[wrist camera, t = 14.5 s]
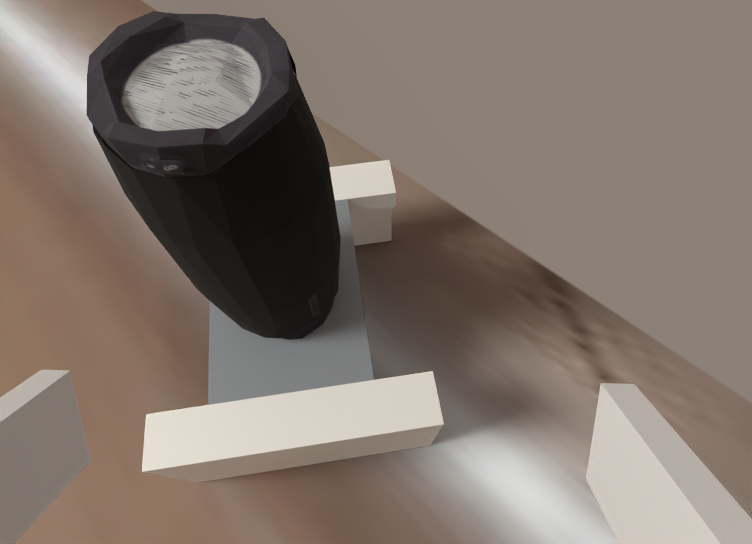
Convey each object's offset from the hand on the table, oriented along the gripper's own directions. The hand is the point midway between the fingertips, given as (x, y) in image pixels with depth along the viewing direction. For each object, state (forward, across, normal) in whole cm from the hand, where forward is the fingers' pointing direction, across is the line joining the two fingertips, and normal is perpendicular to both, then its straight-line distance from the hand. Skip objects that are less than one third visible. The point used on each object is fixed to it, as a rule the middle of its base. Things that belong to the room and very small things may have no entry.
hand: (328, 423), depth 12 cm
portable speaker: (+22, -7, -5) cm, 24 cm away
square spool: (+29, -7, -12) cm, 32 cm away
